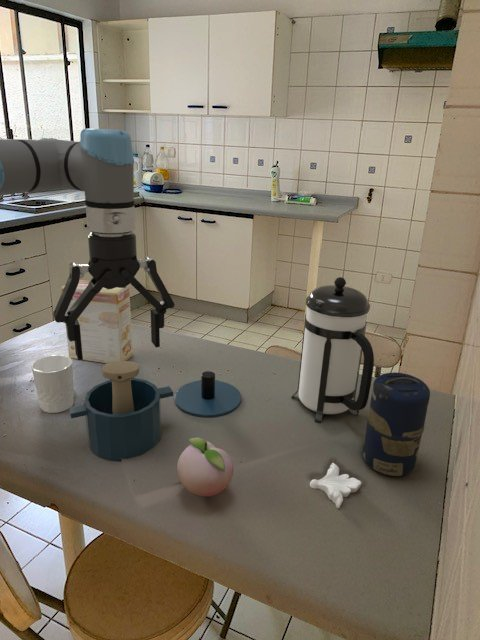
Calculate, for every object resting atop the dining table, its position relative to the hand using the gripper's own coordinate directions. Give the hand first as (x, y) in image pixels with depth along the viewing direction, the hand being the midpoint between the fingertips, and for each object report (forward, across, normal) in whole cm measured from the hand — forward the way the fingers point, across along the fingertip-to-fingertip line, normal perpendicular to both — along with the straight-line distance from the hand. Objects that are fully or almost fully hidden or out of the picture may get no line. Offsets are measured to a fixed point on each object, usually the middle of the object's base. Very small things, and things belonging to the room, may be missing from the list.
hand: (118, 350), depth 83 cm
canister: (+18, +42, -27) cm, 54 cm away
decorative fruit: (+19, +8, -20) cm, 29 cm away
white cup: (+19, -10, +17) cm, 28 cm away
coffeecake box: (+19, +3, +37) cm, 42 cm away
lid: (+18, +20, +6) cm, 28 cm away
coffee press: (+19, +43, -8) cm, 48 cm away
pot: (+19, 0, 0) cm, 19 cm away
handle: (+18, 0, 0) cm, 19 cm away
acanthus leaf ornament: (+19, +29, -28) cm, 45 cm away
